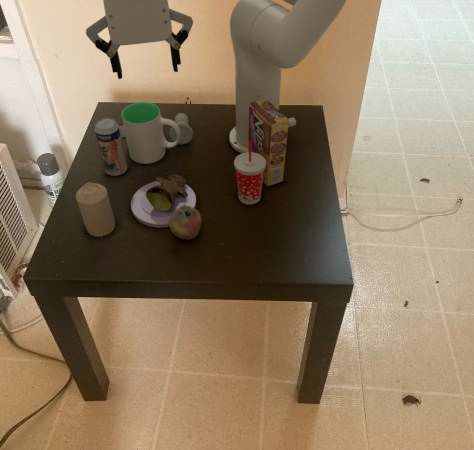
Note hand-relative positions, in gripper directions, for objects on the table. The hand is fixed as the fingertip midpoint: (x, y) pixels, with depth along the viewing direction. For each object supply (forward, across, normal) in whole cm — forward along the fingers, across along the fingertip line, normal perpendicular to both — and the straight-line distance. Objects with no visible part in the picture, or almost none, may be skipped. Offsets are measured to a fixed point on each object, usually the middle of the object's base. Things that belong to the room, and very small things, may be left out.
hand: (147, 71), depth 85 cm
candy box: (+26, -21, +2) cm, 33 cm away
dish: (+25, +1, +8) cm, 26 cm away
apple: (+25, -2, +17) cm, 30 cm away
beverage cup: (+25, -16, +9) cm, 31 cm away
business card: (+25, +9, -20) cm, 33 cm away
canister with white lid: (+25, +10, -5) cm, 28 cm away
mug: (+25, +1, -10) cm, 27 cm away
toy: (+21, +3, +10) cm, 23 cm away
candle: (+25, +14, +11) cm, 31 cm away
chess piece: (+22, -5, -12) cm, 26 cm away
